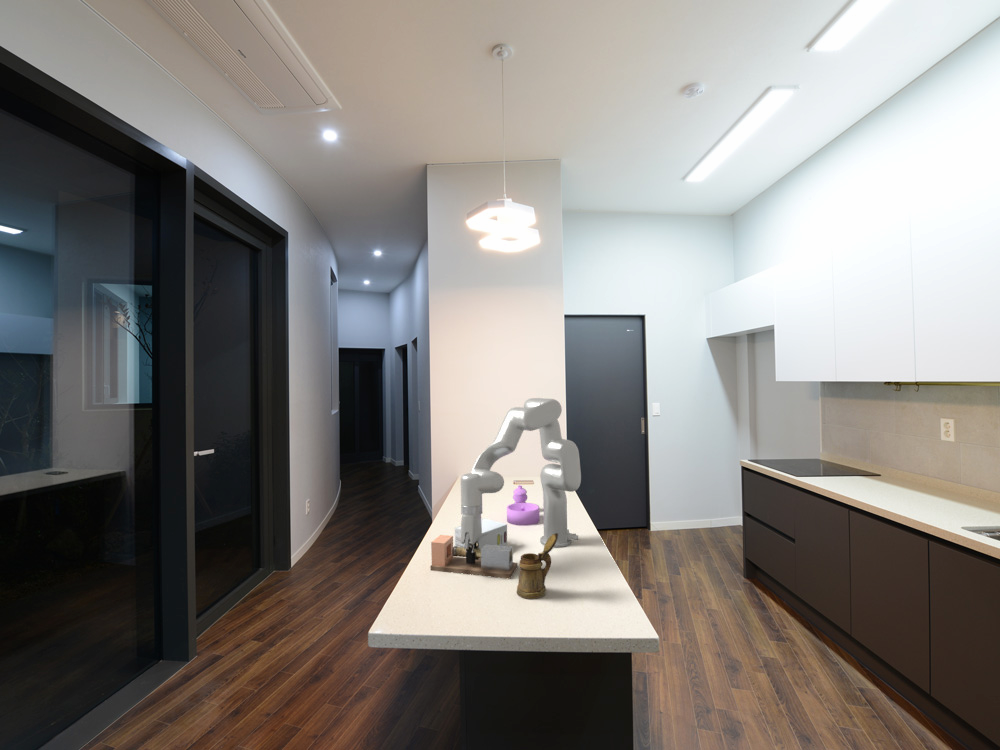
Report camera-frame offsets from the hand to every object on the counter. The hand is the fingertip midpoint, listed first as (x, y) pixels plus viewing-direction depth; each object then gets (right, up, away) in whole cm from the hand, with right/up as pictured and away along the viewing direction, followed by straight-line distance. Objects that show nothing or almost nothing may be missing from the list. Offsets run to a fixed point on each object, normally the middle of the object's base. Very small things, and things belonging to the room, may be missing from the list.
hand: (472, 560), depth 165 cm
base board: (+1, -3, 0) cm, 3 cm away
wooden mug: (+22, -2, -19) cm, 29 cm away
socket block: (-11, -1, +3) cm, 12 cm away
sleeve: (+9, -1, -3) cm, 9 cm away
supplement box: (+2, -3, +19) cm, 20 cm away
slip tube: (+3, +1, -1) cm, 3 cm away
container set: (+20, -3, +59) cm, 63 cm away
